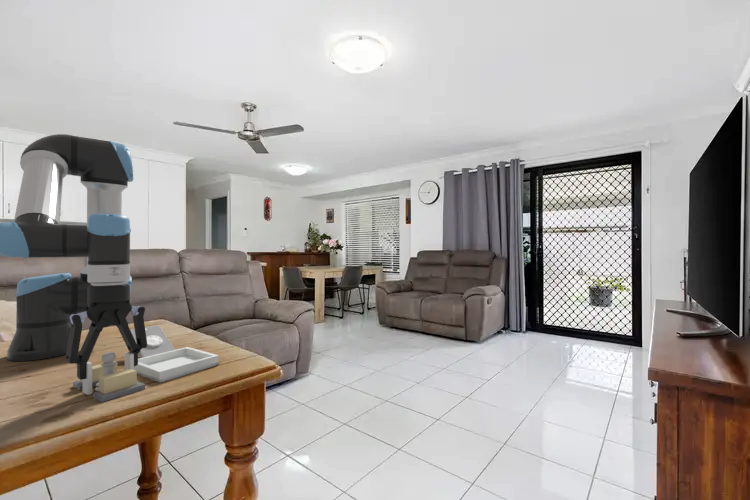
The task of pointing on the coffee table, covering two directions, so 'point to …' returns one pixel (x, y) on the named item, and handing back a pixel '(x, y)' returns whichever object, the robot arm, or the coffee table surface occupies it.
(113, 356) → the chess piece
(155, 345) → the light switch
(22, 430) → the coffee table surface
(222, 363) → the coffee table surface
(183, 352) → the parts tray
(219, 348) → the coffee table surface
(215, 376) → the coffee table surface
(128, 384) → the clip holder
